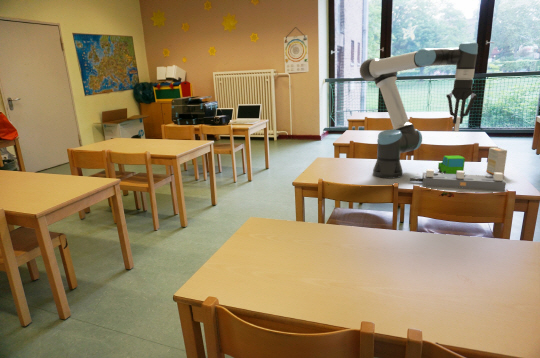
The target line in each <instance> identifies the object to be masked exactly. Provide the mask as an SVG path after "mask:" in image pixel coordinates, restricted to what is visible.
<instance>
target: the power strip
mask: <svg viewBox="0 0 540 358" xmlns="http://www.w3.org/2000/svg"><path fill="white" fill-rule="evenodd" d="M493 176H494V175H479V174H464V179H459V178H456V174H444V173H443V172H439V173H438V172H437V173H436V172H434V175H433V177H426V172H422V178H421V177H420V178H419V177H409V182H421V183H422V187H431V188H432V187H436V188H437V187H438V188H448V189H449V188H450V189H463V190H464V189H466V190H467V189H468V190H482V191H496V192H497V191H498V192H505V191H506V184H507V181H506V180H504V179H502V181H497V180H494V179H493Z"/></svg>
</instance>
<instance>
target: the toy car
mask: <svg viewBox="0 0 540 358" xmlns="http://www.w3.org/2000/svg"><path fill="white" fill-rule="evenodd" d="M465 160H466V158H465V157H464V156H461V155H443V158H442V160H441V162H438V164H437V168H438V172H439V173H443V174H456V172H457V171H464V169H465V163H466V161H465ZM464 172H465V171H464Z"/></svg>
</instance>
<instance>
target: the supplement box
mask: <svg viewBox="0 0 540 358" xmlns="http://www.w3.org/2000/svg"><path fill="white" fill-rule="evenodd" d="M507 154H508V150H507V149H504V148H501V147H495V146H494V147H489V149H488V157H487V165H486V172H487V173H489V174H491V175H492V176H494V172H500V173H502V174H503V176H504V175H505V168H506V161H507Z"/></svg>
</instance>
